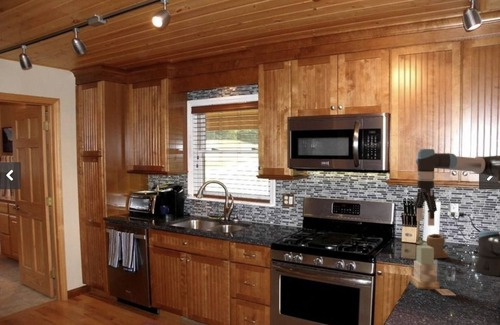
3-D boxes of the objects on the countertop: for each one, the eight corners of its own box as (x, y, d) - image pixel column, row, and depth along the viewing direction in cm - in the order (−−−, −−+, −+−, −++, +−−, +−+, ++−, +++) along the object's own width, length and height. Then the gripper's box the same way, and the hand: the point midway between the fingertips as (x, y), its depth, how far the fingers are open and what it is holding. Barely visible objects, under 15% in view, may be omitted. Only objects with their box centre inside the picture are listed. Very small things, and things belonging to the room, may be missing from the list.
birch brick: (429, 276, 194) (430, 260, 194) (436, 281, 186) (437, 265, 186) (413, 276, 194) (413, 260, 194) (420, 281, 186) (420, 264, 186)
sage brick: (428, 261, 193) (428, 245, 193) (433, 264, 187) (433, 248, 187) (416, 261, 193) (416, 245, 193) (421, 264, 187) (421, 248, 187)
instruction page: (447, 289, 184) (447, 288, 184) (456, 295, 176) (456, 294, 176) (435, 289, 184) (435, 288, 184) (442, 295, 176) (442, 294, 176)
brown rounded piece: (429, 260, 238) (429, 236, 238) (421, 255, 250) (421, 232, 250) (453, 260, 237) (454, 236, 237) (444, 255, 249) (444, 232, 249)
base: (430, 281, 195) (430, 276, 195) (440, 288, 184) (440, 282, 184) (409, 281, 196) (409, 275, 196) (417, 288, 185) (417, 282, 185)
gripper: (408, 178, 202) (408, 219, 202) (428, 181, 177) (428, 227, 178) (423, 179, 202) (422, 219, 202) (445, 181, 177) (444, 227, 177)
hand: (425, 223), depth 190 cm, fingers open, 13 cm apart
